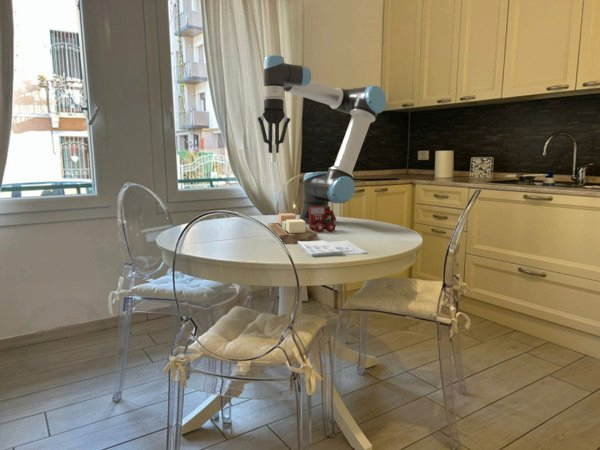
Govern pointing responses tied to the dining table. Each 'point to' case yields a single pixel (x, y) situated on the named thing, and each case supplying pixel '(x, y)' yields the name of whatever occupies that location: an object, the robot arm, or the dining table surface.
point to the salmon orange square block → (285, 217)
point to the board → (292, 234)
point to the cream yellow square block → (295, 226)
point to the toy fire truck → (321, 219)
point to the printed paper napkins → (330, 248)
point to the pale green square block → (284, 225)
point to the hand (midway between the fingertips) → (273, 161)
